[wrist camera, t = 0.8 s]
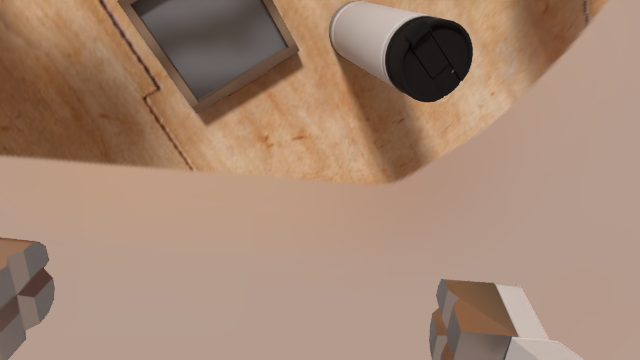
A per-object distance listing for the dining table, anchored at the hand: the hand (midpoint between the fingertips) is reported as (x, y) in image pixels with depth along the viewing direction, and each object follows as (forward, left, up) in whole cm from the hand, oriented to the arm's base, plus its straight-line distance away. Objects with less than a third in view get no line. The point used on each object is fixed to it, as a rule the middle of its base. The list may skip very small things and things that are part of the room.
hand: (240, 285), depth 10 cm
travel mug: (+8, +14, -44) cm, 47 cm away
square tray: (0, +1, -44) cm, 44 cm away
